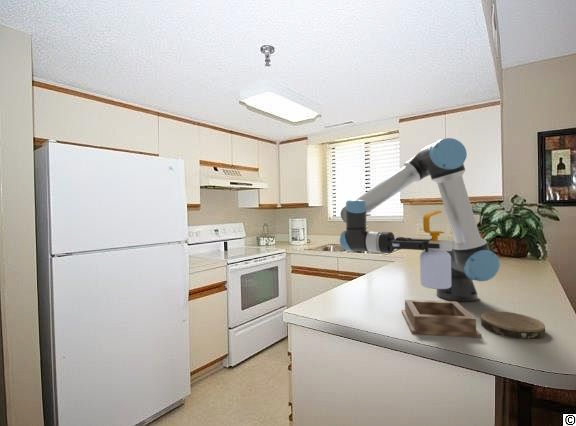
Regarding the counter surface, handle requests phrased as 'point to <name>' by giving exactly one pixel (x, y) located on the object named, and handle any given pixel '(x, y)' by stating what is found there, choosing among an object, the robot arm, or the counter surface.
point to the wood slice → (513, 325)
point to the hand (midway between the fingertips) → (453, 245)
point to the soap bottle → (434, 262)
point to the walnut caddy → (439, 318)
